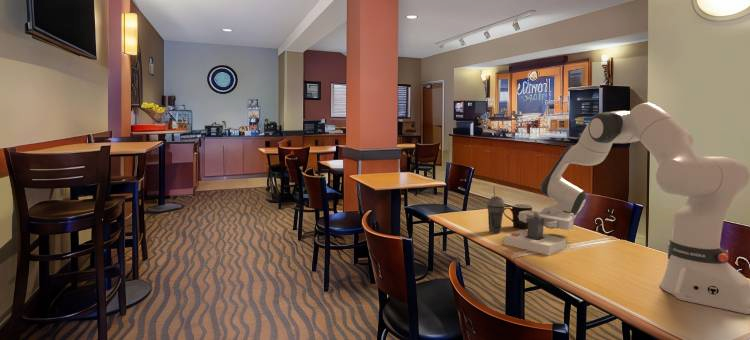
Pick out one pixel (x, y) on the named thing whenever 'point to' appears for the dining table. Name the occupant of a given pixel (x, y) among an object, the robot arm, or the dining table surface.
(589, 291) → the dining table surface
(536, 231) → the dark grey bottle
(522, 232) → the flat white box
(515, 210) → the coffee mug
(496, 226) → the beverage cup
